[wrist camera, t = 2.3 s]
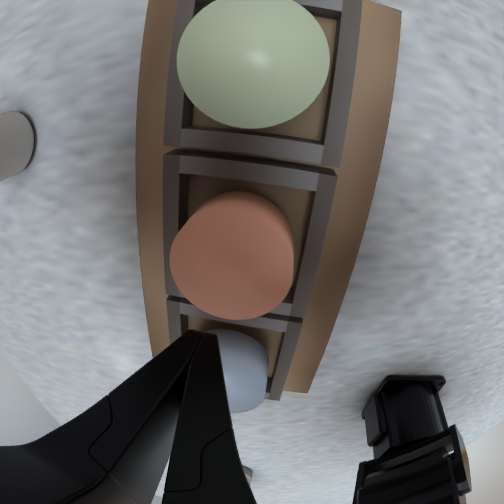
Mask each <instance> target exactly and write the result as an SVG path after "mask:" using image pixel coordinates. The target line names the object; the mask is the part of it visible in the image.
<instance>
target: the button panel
mask: <svg viewBox="0 0 504 504" xmlns="http://www.w3.org/2000/svg"><path fill="white" fill-rule="evenodd" d="M214 1H216V0H149V2H148V8H147V14H146V21H145V28H144V36H143V44H142V52H141V62H140V73H139V85H138V100H137V121H136V202H137V224H138V240H139V253H140V265H141V275H142V285H143V294H144V302H145V310H146V317H147V324H148V331H149V338H150V344H151V350H152V356H153V358H154V357H155V356H156V355H158V354H159V353H160V352H161V351H163V350H164V349H165V348H166V347H168V346H169V345H170V344H171V343H172V342H174V341H175V340H176V339H177V338H179V337H180V336H181V335H182V334H184V333H185V332H186V331H187V330H189V329H195V330H200V331H202V332H205V331H208V330H213V329H228V330H234V331H238V332H241V333H244V334H246V335H248V336H250V337H252V338H254V339H255V340H257V341H258V342H259V343H260V344H261V345H262V346H263V347H264V348H265V350H266V351H267V354H268V356H269V368H268V376H267V384H266V392H265V398H264V399H270V400H278V401H279V400H280V397H281V393H282V390H283V391H292V392H300V393H308V391H309V388H310V386H311V383H312V381H313V379H314V376H315V374H316V371H317V369H318V366H319V364H320V361H321V359H322V356H323V354H324V351H325V348H326V346H327V343H328V341H329V338H330V335H331V332H332V330H333V327H334V324H335V321H336V319H337V316H338V313H339V310H340V307H341V304H342V301H343V298H344V295H345V292H346V289H347V286H348V283H349V280H350V277H351V274H352V270H353V267H354V264H355V261H356V257H357V254H358V250H359V247H360V243H361V240H362V236H363V233H364V229H365V225H366V222H367V218H368V214H369V210H370V206H371V202H372V198H373V194H374V190H375V186H376V181H377V177H378V173H379V168H380V163H381V159H382V154H383V149H384V144H385V139H386V134H387V128H388V122H389V117H390V111H391V104H392V98H393V91H394V84H395V77H396V69H397V60H398V51H399V40H400V28H401V13H402V11H401V10H398V9H394V8H391V7H388V6H385V5H381V4H378V3H374V2H371V1H367V0H293V1H295V2H297V3H298V4H300V5H301V6H302V7H304V8H305V9H306V10H307V11H308V12H309V13H310V14H312V16H313V17H314V18H315V19H316V20H317V22H318V23H319V25H320V26H321V28H322V30H323V32H324V34H325V36H326V39H327V43H328V47H329V54H330V63H329V71H328V75H327V78H326V81H325V84H324V86H323V88H322V90H321V92H320V93H319V95H318V96H317V97H316V99H315V100H314V101H313V102H312V103H311V104H310V105H309V106H308V108H306V109H305V110H304V111H303V112H301V113H300V114H298V115H297V116H295V117H294V118H292V119H290V120H288V121H286V122H283V123H281V124H278V125H274V126H270V127H265V128H255V129H250V128H239V127H233V126H229V125H226V124H223V123H220V122H218V121H216V120H214V119H212V118H210V117H209V116H207V115H206V114H204V113H203V112H202V111H200V110H199V109H198V108H197V107H196V106H195V105H194V104H193V103H192V102H191V100H190V99H189V98H188V96H187V95H186V93H185V91H184V89H183V87H182V85H181V82H180V80H179V76H178V72H177V51H178V46H179V43H180V40H181V37H182V35H183V33H184V31H185V29H186V27H187V26H188V24H189V23H190V21H191V20H192V19H193V18H194V17H195V16H196V14H197V13H199V12H200V11H201V10H202V9H203V8H204V7H206V6H207V5H209V4H210V3H212V2H214ZM232 191H242V192H249V193H253V194H256V195H259V196H261V197H263V198H265V199H267V200H269V201H270V202H272V203H273V204H274V205H275V206H277V207H278V208H279V209H280V210H281V212H282V213H283V214H284V215H285V217H286V218H287V220H288V222H289V224H290V226H291V229H292V233H293V238H294V262H293V280H292V284H291V287H290V290H289V292H288V294H287V295H286V297H285V298H284V300H283V301H282V302H281V303H280V304H279V305H278V306H277V307H276V308H274V309H273V310H272V311H270V312H268V313H266V314H264V315H262V316H259V317H256V318H252V319H245V320H231V319H224V318H220V317H216V316H214V315H211V314H209V313H206V312H204V311H203V310H201V309H199V308H198V307H196V306H195V305H193V304H192V303H191V302H190V301H189V300H188V299H187V298H186V297H185V296H184V295H183V294H182V293H181V291H180V290H179V288H178V287H177V285H176V283H175V281H174V279H173V276H172V273H171V269H170V250H171V246H172V243H173V241H174V239H175V237H176V235H177V234H178V232H179V231H180V230H181V229H182V227H183V226H184V225H185V224H186V222H187V221H188V220H189V219H190V218H191V216H192V215H193V214H194V213H195V211H196V210H197V209H198V208H199V207H200V206H201V205H202V204H203V203H204V202H205V201H207V200H208V199H210V198H211V197H213V196H215V195H218V194H221V193H225V192H232Z"/></svg>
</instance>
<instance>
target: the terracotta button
mask: <svg viewBox="0 0 504 504" xmlns="http://www.w3.org/2000/svg"><path fill="white" fill-rule="evenodd" d="M293 262H294V238H293V233H292V229H291V226H290V224H289V222H288V220H287V218H286V217H285V215H284V214H283V213H282V212H281V210H280V209H279V208H278V207H277V206H275V205H274V204H273V203H272V202H270V201H269V200H267V199H265V198H263V197H261V196H259V195H256V194H253V193H249V192H242V191H232V192H225V193H221V194H218V195H215V196H213V197H211V198H210V199H208V200H207V201H205V202H204V203H203V204H202V205H201V206H200V207H199V208H198V209H197V210H196V211H195V213H194V214H193V215H192V216H191V218H190V219H189V220H188V221H187V222H186V224H185V225H184V226H183V227H182V229H181V230H180V231H179V232H178V234H177V235H176V237H175V239H174V241H173V243H172V246H171V250H170V269H171V273H172V276H173V279H174V281H175V283H176V285H177V287H178V288H179V290H180V291H181V293H182V294H183V295H184V296H185V297H186V298H187V299H188V300H189V301H190V302H191V303H192V304H193V305H195V306H196V307H198V308H199V309H201V310H203V311H204V312H206V313H209V314H211V315H214V316H216V317H220V318H224V319H231V320H245V319H252V318H256V317H259V316H262V315H264V314H266V313H268V312H270V311H272V310H273V309H274V308H276V307H277V306H278V305H279V304H280V303H281V302H282V301H283V300H284V298H285V297H286V295H287V294H288V292H289V290H290V287H291V284H292V280H293Z"/></svg>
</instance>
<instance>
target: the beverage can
mask: <svg viewBox="0 0 504 504" xmlns="http://www.w3.org/2000/svg"><path fill="white" fill-rule="evenodd" d="M33 147H34V133H33V130H32V126H31V124H30V122H29V121H28V120H27V118H26V117H25V116H24V115H23V114H21V113H19V112H15V111H12V112H7V113H3V114H0V181H2V180H4V179H6V178H8V177H10V176H13V175H15V174H17V173H19V172H21V171H22V170H23V169H24V168H25V167H26V165H27V164H28V162H29V160H30V157H31V155H32V151H33Z"/></svg>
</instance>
